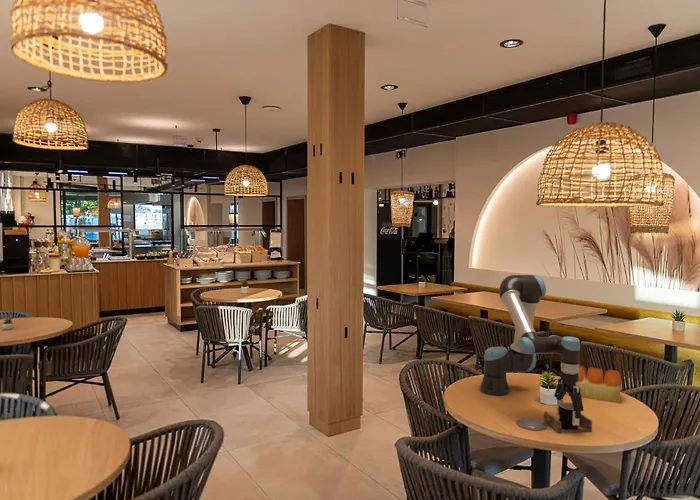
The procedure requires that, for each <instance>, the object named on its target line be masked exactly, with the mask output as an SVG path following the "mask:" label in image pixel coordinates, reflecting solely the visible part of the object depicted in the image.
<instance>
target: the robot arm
mask: <svg viewBox="0 0 700 500" xmlns="http://www.w3.org/2000/svg"><path fill="white" fill-rule="evenodd" d="M499 284H500V285H499V287H498V293H499V294H498V295H499V297H500V301H501V302H502V303H504V304H505V305H506V306H505V307H506V308H507V311H508V313H509V315H510V317H511V320H512V322H513V325H514V326H515V329H514V330H515V331H514V338H513V343H511V344H510V347H509V349H508V348H506V347H504V346H491V347H488V348H487V349H486V350H485V351H484V355H483V356H484V357H483V359H484V360H483V366H484V367H483V377H482V380H481V382H480V386H479V387H480V388H479V390H480V392H481V393H483V392H484V394H486V395H491V396H507V395H509V393H510V387H509V383H508V380H507V379H508V378H507V373H526V372H531V371H533V369H535V367H536V364H537V355H538V354H539V355H541V354H542V355H543V354H545V355H546V354H548V355H549V354H558V355H560V376H559V378H558V379H557V386H556V388H555V392H554V394H553V396H554V398H555V399H556V415H558V416H559V404H560V403H565V402H564V397H565V396H566V394H567V395H568V396H569V398H570V400H571V403H572V404H573V407H574V410H573V423H572V425H579V418H580V411H581V412H584V405H583V398H581V389H580V387H576V383H577V382H578V379H579V374H578V372H579V366H580V356H581V355H580V354H581V353H580V351H581V344H580V343H581V342H580V339H579V338H577V337H576V336H575V337H574V336H560V335H555V334H554V335H553V334H552V335H549V336H542V337H541V336H538V334H537V332H536V330H535V328H534V321H535V315H536V307H537V305H538V304H540V300H541V299H542V298H545V296H546V293H547V288H546V287H547V286H546V283H545V280H544V278H543V277H542V276H540V275H537V274H534V275H533V274H510V275H508V276H506V277H505V278H503V280H502V281H501V283H499ZM579 426H580V425H579Z"/></svg>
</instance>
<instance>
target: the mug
mask: <svg viewBox="0 0 700 500" xmlns="http://www.w3.org/2000/svg"><path fill="white" fill-rule="evenodd" d="M573 410H574V407H573V404H572V402H564V403H560V404H559V415H558V416H559V417H558V419H560V421H561V429H562V430H570V429H579V426H580V425H572V423H573ZM581 414H582V411H580V415H581ZM579 422H580V418H579Z"/></svg>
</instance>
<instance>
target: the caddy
mask: <svg viewBox="0 0 700 500" xmlns="http://www.w3.org/2000/svg"><path fill="white" fill-rule="evenodd" d="M543 422H544V423H546V425H547V427H550V428H551V429H552V430H554V431H555V432H556V433H558V434H576V433H591V432H593V431H592V430H593V420H592V419H590V418H589V417H587V416H586V415H584V414H582V413H581V415H580V422H579V426H580V427H582V428H578V429H570V430H564V429H562V427H561V421H560V419H559V418H556V417H555V416H554V415H552V414H551V413H549V412H548V411H543Z"/></svg>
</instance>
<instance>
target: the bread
mask: <svg viewBox="0 0 700 500" xmlns="http://www.w3.org/2000/svg"><path fill="white" fill-rule="evenodd" d="M578 374H579V379H578V382H577V383H576V387H580V389H581V398H582V399H589V400H595V401H602V402H608V403H614V404H620V402H621V390H622V375H621V372H619V371H618V370H614V369H608V370H606V371H605V373H604V370H603V369H602V368H601V367H600V368H598V367H593V366H592V367H589V368H588V370H587V369H586V367H584V366H582V365H579V372H578Z"/></svg>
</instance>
